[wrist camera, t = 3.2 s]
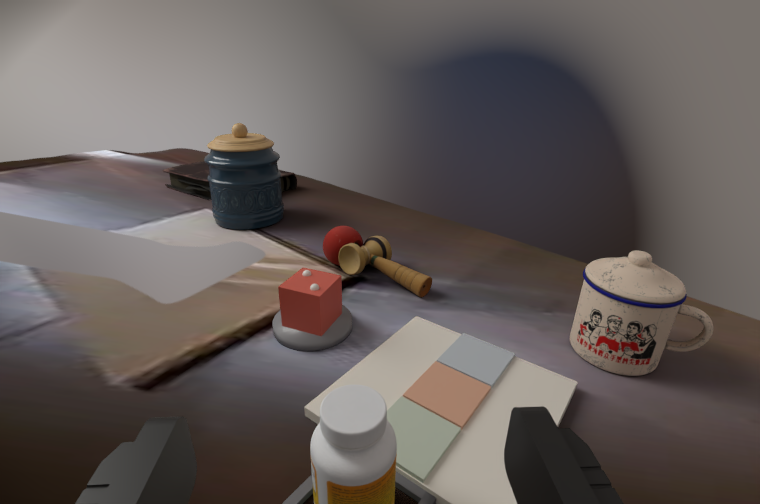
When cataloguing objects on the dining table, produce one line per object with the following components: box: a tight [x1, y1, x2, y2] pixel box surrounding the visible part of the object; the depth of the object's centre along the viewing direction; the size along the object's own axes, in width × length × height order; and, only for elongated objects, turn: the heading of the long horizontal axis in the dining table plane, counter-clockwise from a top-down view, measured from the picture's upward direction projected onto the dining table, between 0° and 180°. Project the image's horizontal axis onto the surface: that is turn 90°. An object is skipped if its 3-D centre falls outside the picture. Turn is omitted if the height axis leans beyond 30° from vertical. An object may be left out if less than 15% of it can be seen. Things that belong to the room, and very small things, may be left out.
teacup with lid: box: [570, 251, 713, 376], centre depth 43 cm, size 12×9×12 cm
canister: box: [204, 123, 284, 230], centre depth 77 cm, size 13×13×18 cm
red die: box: [273, 268, 352, 351], centre depth 48 cm, size 9×9×6 cm
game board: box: [282, 316, 577, 504], centre depth 35 cm, size 26×18×1 cm
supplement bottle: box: [311, 384, 397, 504], centre depth 27 cm, size 5×5×10 cm
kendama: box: [323, 226, 432, 298], centre depth 60 cm, size 8×6×18 cm
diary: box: [163, 161, 297, 200], centre depth 98 cm, size 19×25×5 cm
